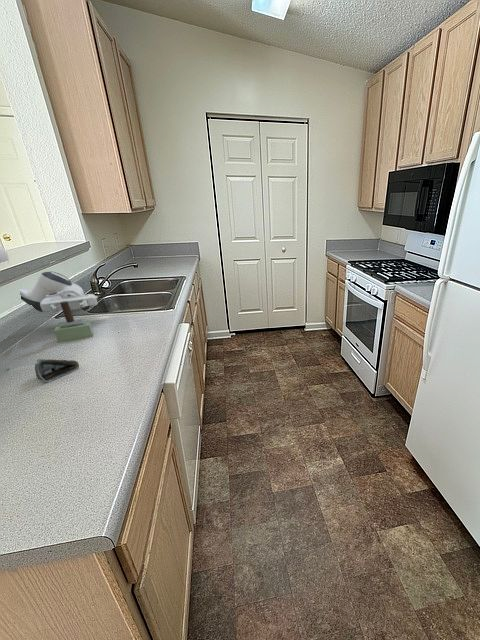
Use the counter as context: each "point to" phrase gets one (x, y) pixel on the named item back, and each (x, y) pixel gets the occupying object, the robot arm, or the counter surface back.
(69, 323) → the cake cutter
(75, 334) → the stand
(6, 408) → the counter surface
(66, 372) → the dark grey triangular holder
